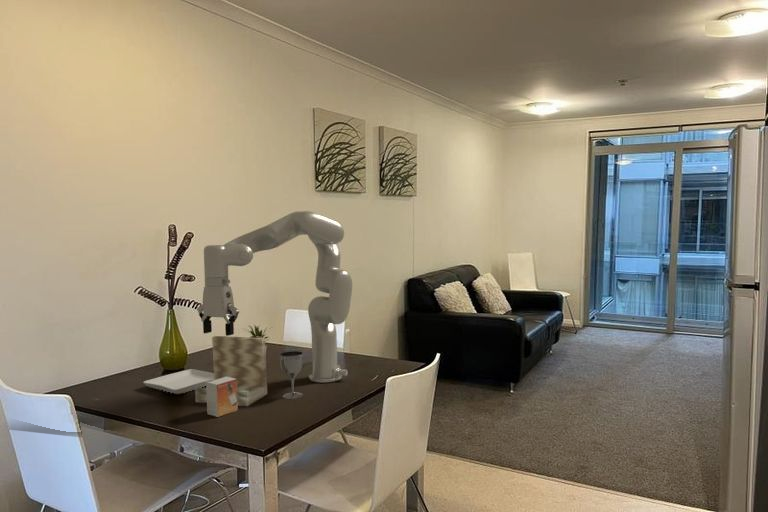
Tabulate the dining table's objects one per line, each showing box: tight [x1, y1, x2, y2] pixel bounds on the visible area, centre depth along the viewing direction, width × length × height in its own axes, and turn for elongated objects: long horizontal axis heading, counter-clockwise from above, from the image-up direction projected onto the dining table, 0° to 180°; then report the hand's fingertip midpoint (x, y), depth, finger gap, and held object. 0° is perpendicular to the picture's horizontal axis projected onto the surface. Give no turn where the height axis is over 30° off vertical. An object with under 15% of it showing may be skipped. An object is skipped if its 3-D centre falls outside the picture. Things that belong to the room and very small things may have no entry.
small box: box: [205, 376, 239, 418], centre depth 176 cm, size 8×6×10 cm
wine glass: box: [279, 350, 304, 400], centre depth 191 cm, size 8×8×15 cm
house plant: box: [241, 324, 273, 353], centre depth 243 cm, size 14×14×16 cm
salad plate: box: [143, 368, 214, 395], centre depth 207 cm, size 21×21×3 cm
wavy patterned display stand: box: [194, 335, 268, 407], centre depth 190 cm, size 20×13×20 cm, turn 73°
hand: (218, 333), depth 182 cm, fingers open, 9 cm apart
